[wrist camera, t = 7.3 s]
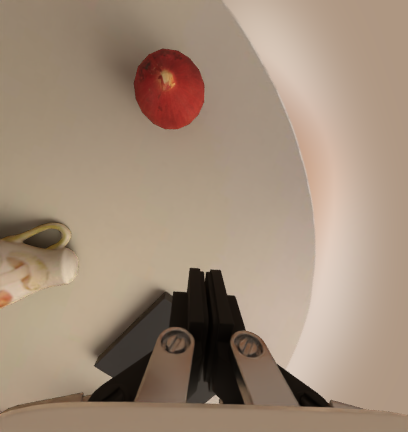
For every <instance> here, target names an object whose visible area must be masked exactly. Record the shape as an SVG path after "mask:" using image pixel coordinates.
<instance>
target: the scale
mask: <svg viewBox="0 0 408 432" xmlns="http://www.w3.org/2000/svg"><path fill="white" fill-rule="evenodd" d="M172 299H173V297H172V296H171V295H170V294H168V293H167V292H165V293H164V294H163V295H162V296H161V297H160V298H159V299H158V300H157V301H156V302H155V303H154V304H153V305H152V306H150V307H149V308H148V309H147V310H146V311H145V312H144V313H143V314H142V315H141V316H140V317H139V318H138V319H137V320H136V321H135V322H134V323H133V324H132V325H131V326H130V327H129V328H128V329H127V330H126V331H125V332H124V333H123V334H122V335H120V336H119V337H118V338H117V339H116V340H115V341H114V342H113V343H112V344H111V345H110V346H109V347H108V348H107V349H106V350H105V351H104V352H103V353H102V354H101V355H100V356H99V357H98V359H97V361H96V363H95V365H94V366H95V367H96V368H98V369H99V370H101V371H103V372H104V373H106V374H108V375H109V376H111V377H115V376H116V375H118V374H119V373H121V372H122V371H124V370H125V369H126V368H128V367H129V366H131V365H132V364H134V363H135V362H137V361H138V360H140V359H141V358H142V357H144V356H145V355H147V354H148V353H150V352H151V351H153V349H154V347H155V344H156V341H157V339H158V337H159V335H160V333H162V332H163V331H164V330H166V329H168V328H169V322H170V315H171V307H172ZM214 395H216V394H215V393H214V392H209V390H208V382H204V381H203V366H202V373H201V380H200V382H198V386H197V391H196V392H195V393H194V394H193V395H192V396H191V397H190V398H189V399H188V400H187V403H199V404H204V403H206V402H207V401H208V400H209V399H211V398H212V397H213V396H214Z"/></svg>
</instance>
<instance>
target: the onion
mask: <svg viewBox="0 0 408 432" xmlns="http://www.w3.org/2000/svg"><path fill="white" fill-rule="evenodd" d="M134 89H135V96H136V100H137V103H138V105H139V107H140V109H141V111H142V113H143V114H144V115H145V116H146V117H147V118H148V119H149V120H150V121H151V122H152V123H153V124H156V125H158V126H160V127H162V128H164V129H179V128H182V127H184V126H186V125H188V124H190V123H191V122H192V121H193V120H194V119H195V118H196V117H197V115H198V114H199V112H200V110H201V107H202V105H203V103H204V82H203V80H202V77H201V74H200V71H199V69H198V68H197V67H196V65H195V64H194V63H193V62H192V61H191V59H190V58H189V57H187V56H185V55H184V54H182V53H180V52H179V51H177V50H170V49H160V50H158V51H155V52H153V53H151V54H149V55H148V56H147V57H146V58H145V59H144V60H143V61H142V63H141V64H140V65H139V66H138V69H137V73H136V77H135V81H134Z"/></svg>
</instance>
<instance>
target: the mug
mask: <svg viewBox="0 0 408 432" xmlns="http://www.w3.org/2000/svg"><path fill="white" fill-rule="evenodd" d="M52 228H53V229H57V230H59V231H60V233H61V239H60V241H59V242H58V243H56V244H53V245H51V246H49V247H48V248H46V249H43V248H38V247H34V246H31V245H27V244H24V243H23V241H24V240H25V239H27V238H29V237H31V236H33V235H35V234H37V233H39V232H41V231H44V230H47V229H52ZM70 239H71V231H70V230H69V229H68V228H67V227H66V226H65V225H63V224H60V223H47V224H42V225H40V226H38V227H35V228H33V229H31V230H28V231H26V232H23V233H21V234H17V235H13V236H7V237H5V238H3V239H0V308H3V307H5V306H8V305H10V304H12V303H14V302H17V301H19V300H21V299H23V298H25V297H27V296H29V295H31V294H33V293H35V292H37V291H39V290H41V289H44V288H48V287H52V286H59V285H66V284H69V283H70V282H71V281H72V280H73V279H74V278H75V277H76V275H77V273H78V266H79V264H78V258H77V256H76V254H75V253H74V252H73V251H71V250H70V249H68V248H65V246H66V244H67V243H68V242H69V240H70Z"/></svg>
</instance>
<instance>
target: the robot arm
mask: <svg viewBox="0 0 408 432" xmlns="http://www.w3.org/2000/svg"><path fill="white" fill-rule="evenodd" d="M202 366H203V381H204V382H208V390H209V392H214V393H215V394H216V395H217V396H218V397H219V398H220V399H219V404H199V403H187V400H188V399H189V398H190V397H191V396H192V395H193V394H194V393H195V392H196V391H197V386H198V382H200V380H201V373H202ZM0 432H408V415H404V414H399V413H393V412H386V411H376V410H366V409H363V408H359V407H355V406H352V405H348V404H344V403H340V402H337V401H333V400H331V401H330V403H327V402H326V400H325V399H324V398H323V397H321V396H320V395H319V394H318V393H316V392H315V391H314V390H312V389H311V388H310V387H308V386H307V385H305V384H304V383H303V382H301V381H300V380H298V379H297V378H296V377H294V376H293V375H291V374H290V373H289V372H287V371H286V370H285V369H283V368H282V367H280V366H279V365H278V364H276V362H275V360H274V359H273V357H272V355H271V353H270V351H269V350H268V348H267V346H266V344H265V343H264V341H263V340H262V339H261V338H260V337H259V336H258V335H256V334H254V333H252V332H249V331H246V330H245V326H244V323H243V320H242V317H241V313H240V310H239V307H238V304H237V300H236V297H235V296H230V295H227V293H226V289H225V285H224V281H223V277H222V273H221V270H210V272H206V278H205V280H204V272H202V271H200V269H198V268H190V271H189V279H188V288H187V292H173V299H172V307H171V315H170V322H169V328H168V329H166V330H164V331H163V332H162V333H160V335H159V337H158V339H157V341H156V344H155V347H154V349H153V351H151V352H150V353H148V354H147V355H145V356H144V357H142V358H141V359H140V360H138V361H137V362H135V363H134V364H132V365H131V366H129V367H128V368H126V369H125V370H124V371H122V372H121V373H119V374H118V375H116V376H115V377H113V378H112V379H110V380H109V381H108V382H106V383H105V384H103V385H102V386H100V387H99V388H98V389H97V390H96V391H95V392H94V393H93V394H92V395H87V396H83V392H82V393H77V394H72V395H67V396H62V397H57V398H52V399H47V400H42V401H36V402H31V403H26V404H21V405H17V406H14V407H11V408H8V409H7V410H5V411H3V412H2V413H0Z"/></svg>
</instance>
